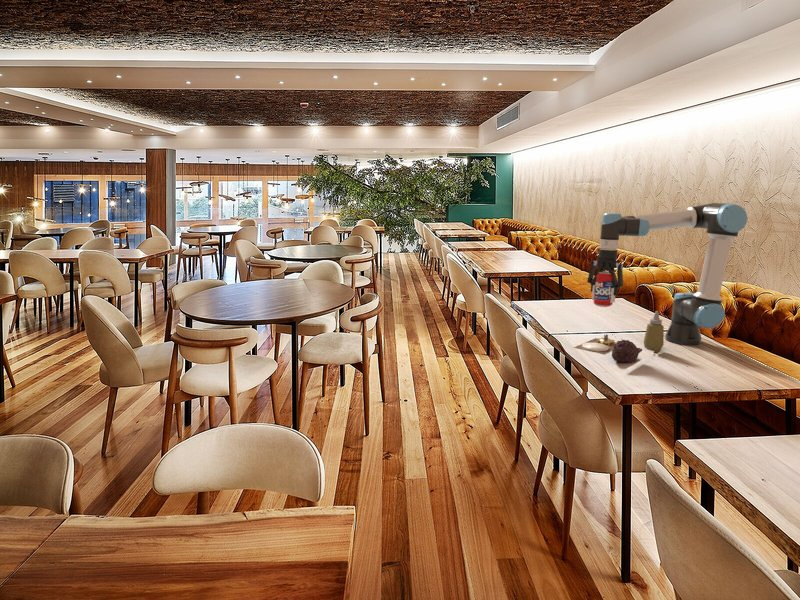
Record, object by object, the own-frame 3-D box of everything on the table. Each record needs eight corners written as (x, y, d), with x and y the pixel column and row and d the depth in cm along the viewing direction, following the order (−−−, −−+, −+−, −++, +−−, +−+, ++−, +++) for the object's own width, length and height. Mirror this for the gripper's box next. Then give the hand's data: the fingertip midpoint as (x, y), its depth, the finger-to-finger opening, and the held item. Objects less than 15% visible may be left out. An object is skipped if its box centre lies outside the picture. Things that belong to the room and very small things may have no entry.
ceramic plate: (612, 347, 236) (612, 346, 236) (602, 353, 228) (602, 351, 228) (588, 342, 244) (589, 341, 243) (577, 347, 236) (577, 346, 236)
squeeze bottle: (664, 354, 232) (669, 314, 229) (645, 353, 234) (649, 313, 230) (659, 349, 240) (664, 310, 236) (640, 347, 242) (644, 309, 238)
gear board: (624, 347, 242) (625, 344, 242) (604, 357, 227) (604, 354, 227) (595, 341, 252) (595, 338, 252) (573, 350, 236) (573, 347, 236)
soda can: (609, 304, 240) (613, 271, 237) (614, 308, 232) (617, 273, 229) (591, 303, 240) (594, 270, 237) (595, 307, 233) (598, 273, 230)
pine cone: (622, 371, 210) (624, 346, 208) (600, 364, 218) (602, 341, 216) (646, 362, 221) (649, 339, 219) (624, 356, 228) (626, 334, 226)
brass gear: (617, 343, 243) (617, 334, 243) (610, 346, 238) (610, 337, 237) (600, 339, 249) (601, 331, 248) (593, 343, 243) (594, 334, 242)
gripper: (581, 247, 236) (577, 298, 240) (628, 252, 221) (622, 305, 226) (589, 246, 241) (585, 296, 245) (636, 251, 227) (630, 303, 231)
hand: (603, 300), depth 236 cm, fingers closed on soda can, 8 cm apart
